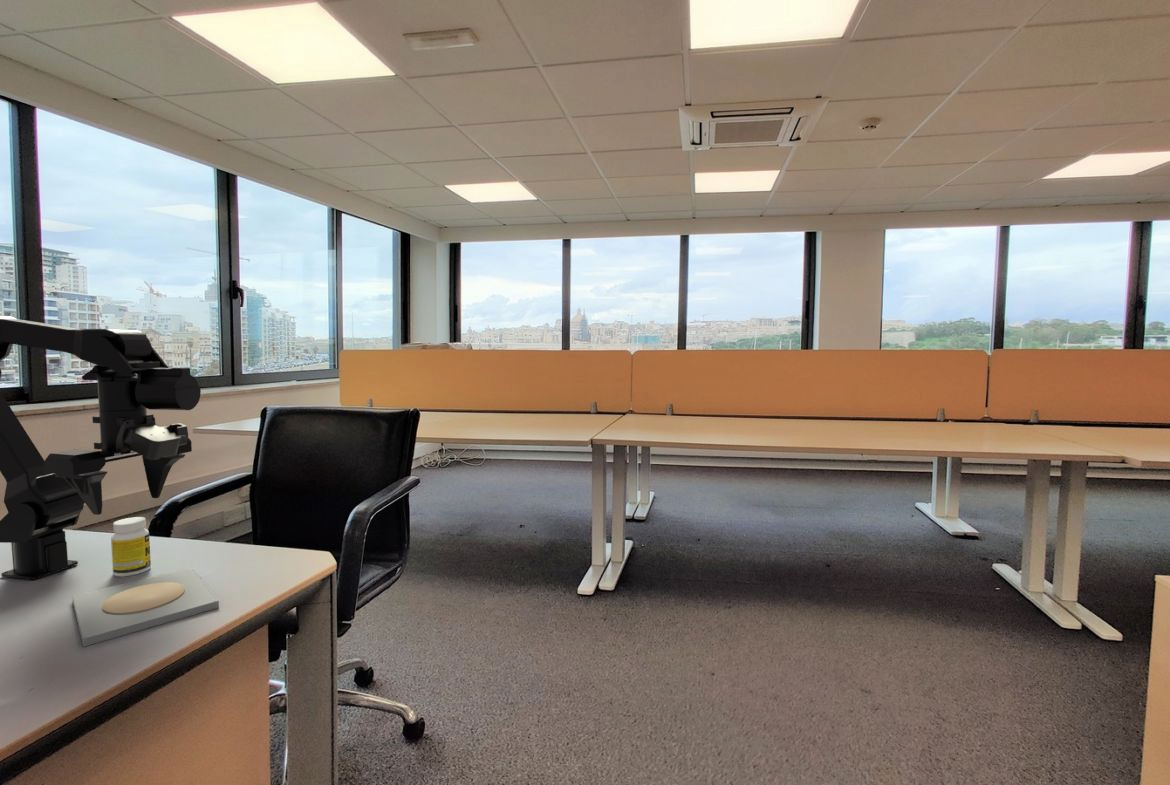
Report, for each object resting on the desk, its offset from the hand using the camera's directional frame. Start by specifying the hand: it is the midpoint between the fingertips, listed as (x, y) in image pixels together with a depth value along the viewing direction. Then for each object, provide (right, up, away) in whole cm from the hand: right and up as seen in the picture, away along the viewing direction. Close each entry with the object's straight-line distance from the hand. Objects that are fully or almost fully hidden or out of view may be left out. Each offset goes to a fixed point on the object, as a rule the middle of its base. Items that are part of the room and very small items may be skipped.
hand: (128, 505), depth 86 cm
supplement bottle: (0, -11, +1) cm, 11 cm away
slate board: (+11, -12, -10) cm, 19 cm away
